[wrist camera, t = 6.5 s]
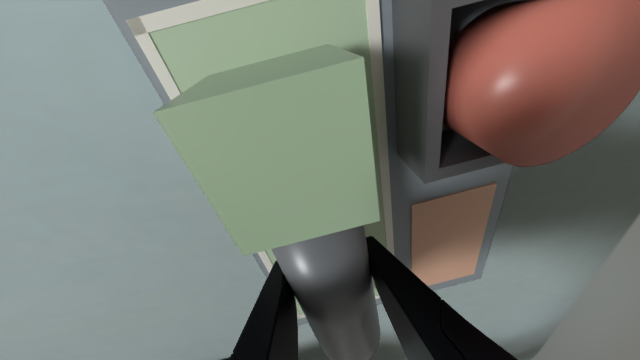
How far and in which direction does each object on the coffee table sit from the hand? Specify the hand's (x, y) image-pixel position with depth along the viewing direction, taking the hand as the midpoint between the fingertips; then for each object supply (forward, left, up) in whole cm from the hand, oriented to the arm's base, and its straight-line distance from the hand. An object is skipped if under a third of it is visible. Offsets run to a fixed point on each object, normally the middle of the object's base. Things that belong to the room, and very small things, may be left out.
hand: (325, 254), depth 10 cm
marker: (0, 0, -1) cm, 1 cm away
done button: (+5, -7, -1) cm, 9 cm away
